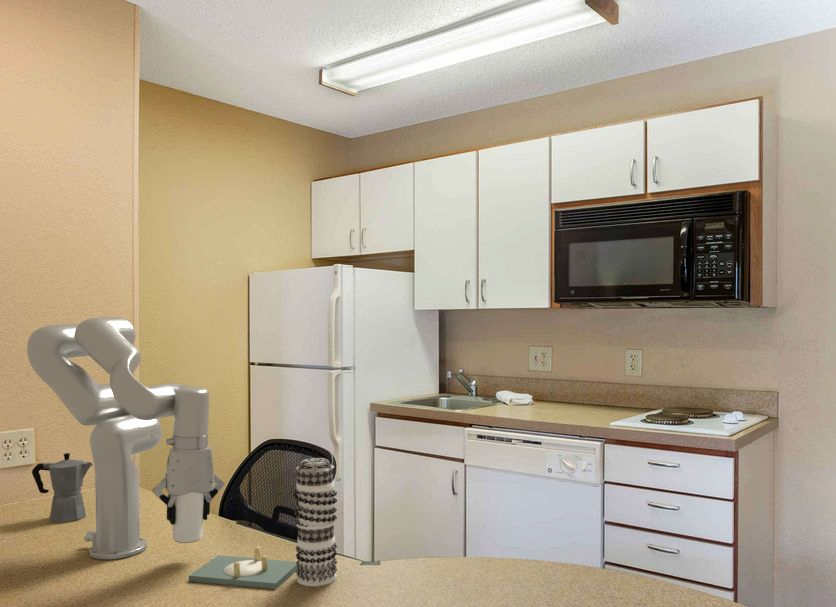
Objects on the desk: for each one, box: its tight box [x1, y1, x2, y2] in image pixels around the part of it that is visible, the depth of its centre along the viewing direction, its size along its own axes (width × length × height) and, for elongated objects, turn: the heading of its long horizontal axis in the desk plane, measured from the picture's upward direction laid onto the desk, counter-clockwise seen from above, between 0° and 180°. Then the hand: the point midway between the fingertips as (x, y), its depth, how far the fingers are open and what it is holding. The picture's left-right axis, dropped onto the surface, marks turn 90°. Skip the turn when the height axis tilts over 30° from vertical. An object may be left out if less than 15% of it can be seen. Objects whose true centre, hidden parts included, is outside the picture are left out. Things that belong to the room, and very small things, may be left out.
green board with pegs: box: [188, 546, 297, 590], centre depth 150 cm, size 20×12×4 cm, turn 76°
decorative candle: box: [292, 457, 338, 587], centre depth 147 cm, size 9×9×25 cm
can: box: [172, 492, 204, 544], centre depth 158 cm, size 6×6×12 cm
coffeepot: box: [31, 452, 94, 524], centre depth 192 cm, size 15×9×18 cm, turn 103°
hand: (188, 519), depth 158 cm, fingers closed on can, 6 cm apart
